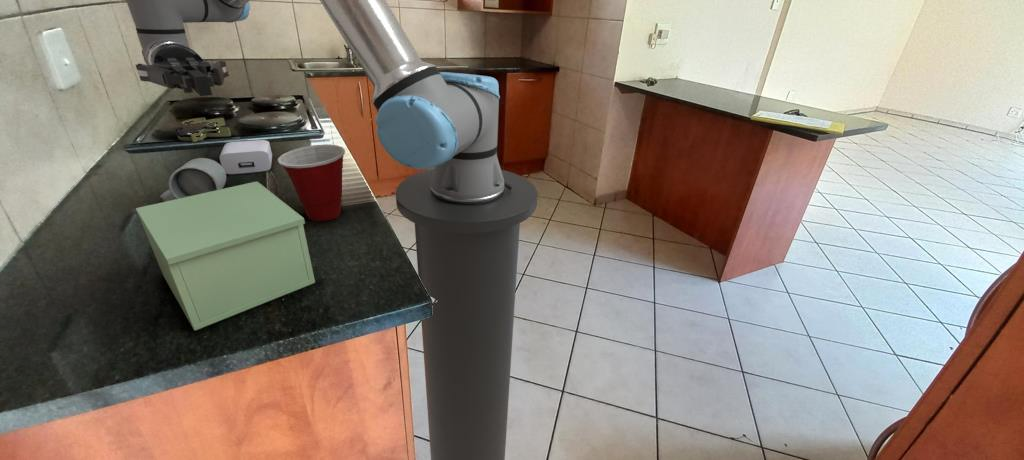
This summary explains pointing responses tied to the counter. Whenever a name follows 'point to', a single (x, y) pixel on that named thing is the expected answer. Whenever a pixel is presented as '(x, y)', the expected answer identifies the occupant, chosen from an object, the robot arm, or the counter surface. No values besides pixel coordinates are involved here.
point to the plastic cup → (316, 178)
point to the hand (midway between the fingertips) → (203, 86)
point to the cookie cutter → (220, 122)
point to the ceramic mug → (195, 179)
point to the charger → (246, 156)
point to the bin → (238, 275)
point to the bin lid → (215, 220)
